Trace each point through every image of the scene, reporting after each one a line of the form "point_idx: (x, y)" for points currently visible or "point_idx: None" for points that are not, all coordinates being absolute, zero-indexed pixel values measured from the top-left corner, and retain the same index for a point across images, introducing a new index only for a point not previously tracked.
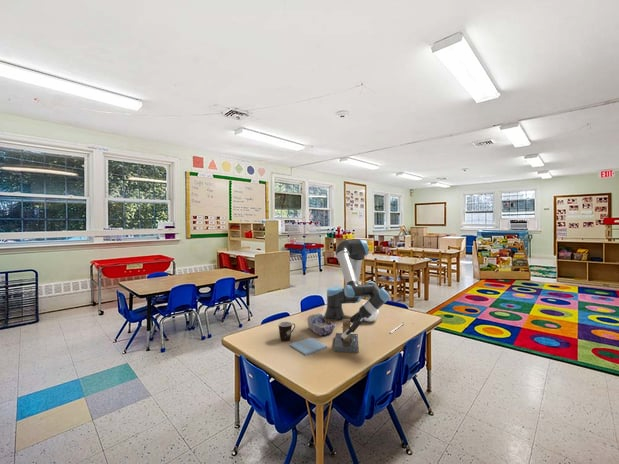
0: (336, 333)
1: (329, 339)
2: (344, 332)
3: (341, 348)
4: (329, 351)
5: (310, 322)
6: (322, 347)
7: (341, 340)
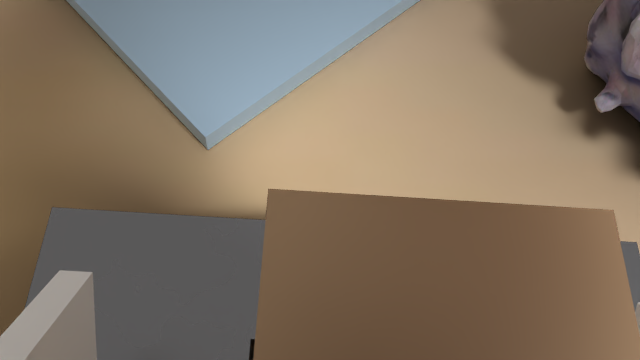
0: None
1: (498, 178)
2: (6, 342)
3: None
4: (85, 178)
5: None
6: (158, 79)
7: None
